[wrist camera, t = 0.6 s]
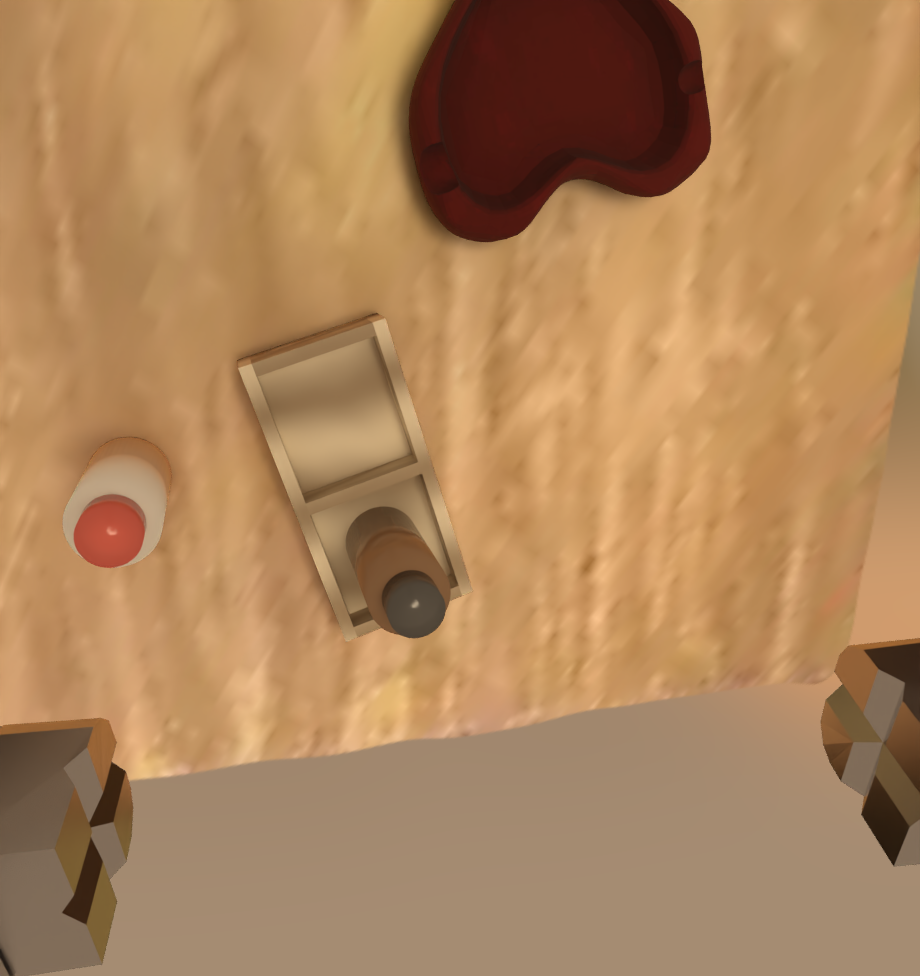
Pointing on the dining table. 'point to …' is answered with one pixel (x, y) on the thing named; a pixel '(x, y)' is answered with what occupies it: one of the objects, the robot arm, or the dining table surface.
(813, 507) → the dining table surface
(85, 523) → the white shaker
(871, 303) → the dining table surface
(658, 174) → the ashtray
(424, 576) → the brown soy bottle
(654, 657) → the dining table surface
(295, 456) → the caddy
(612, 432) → the dining table surface
